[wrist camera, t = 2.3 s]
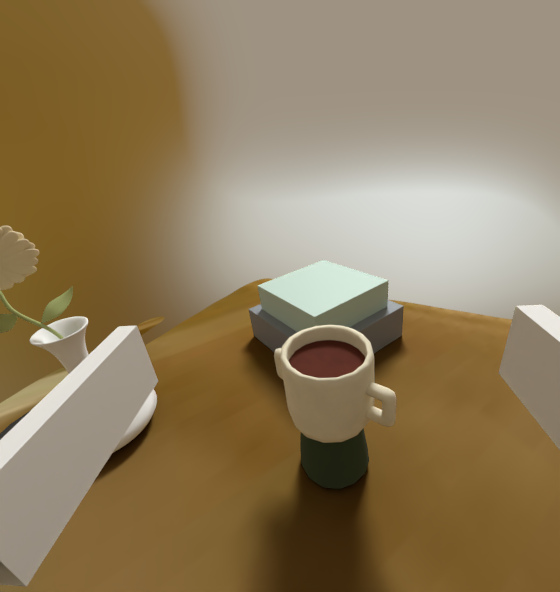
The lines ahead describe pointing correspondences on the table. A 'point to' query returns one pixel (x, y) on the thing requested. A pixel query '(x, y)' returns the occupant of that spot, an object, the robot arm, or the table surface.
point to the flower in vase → (61, 334)
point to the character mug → (333, 400)
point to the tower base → (326, 305)
